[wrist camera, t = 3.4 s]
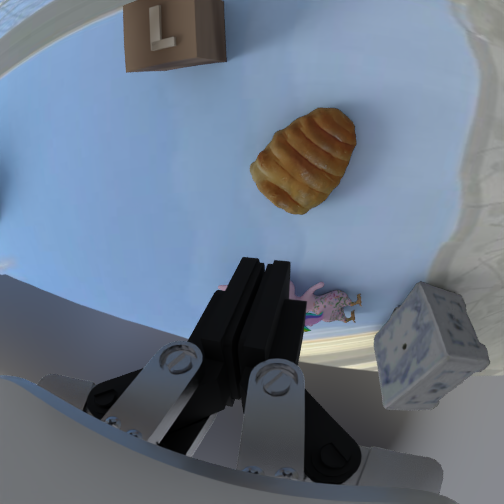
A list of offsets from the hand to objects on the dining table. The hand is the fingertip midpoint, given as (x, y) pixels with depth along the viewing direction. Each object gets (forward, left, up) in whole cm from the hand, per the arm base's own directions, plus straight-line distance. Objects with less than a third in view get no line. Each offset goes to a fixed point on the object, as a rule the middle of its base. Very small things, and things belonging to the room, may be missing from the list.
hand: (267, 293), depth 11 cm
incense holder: (-14, +16, -17) cm, 27 cm away
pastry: (0, -1, -17) cm, 17 cm away
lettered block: (+10, -12, -17) cm, 23 cm away
